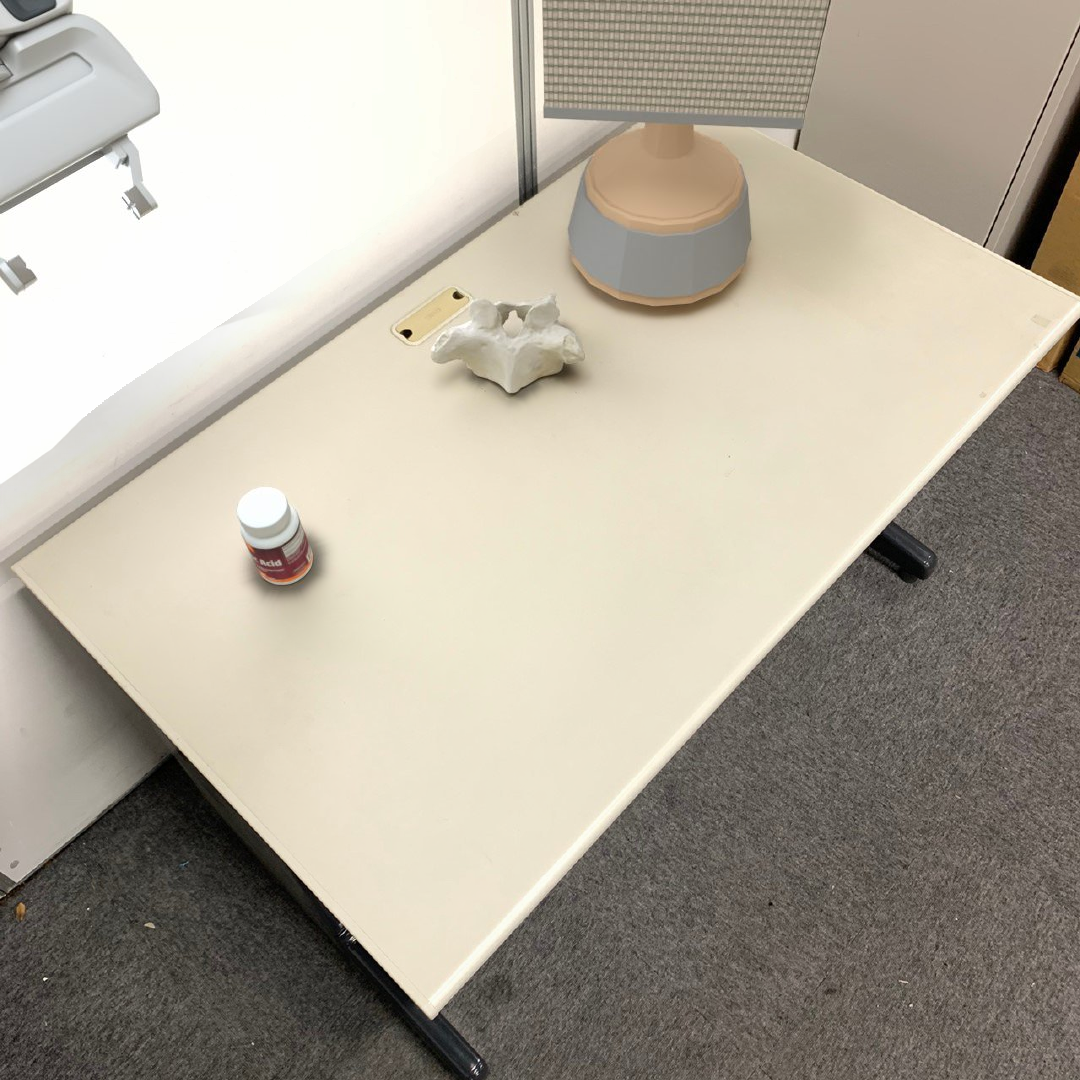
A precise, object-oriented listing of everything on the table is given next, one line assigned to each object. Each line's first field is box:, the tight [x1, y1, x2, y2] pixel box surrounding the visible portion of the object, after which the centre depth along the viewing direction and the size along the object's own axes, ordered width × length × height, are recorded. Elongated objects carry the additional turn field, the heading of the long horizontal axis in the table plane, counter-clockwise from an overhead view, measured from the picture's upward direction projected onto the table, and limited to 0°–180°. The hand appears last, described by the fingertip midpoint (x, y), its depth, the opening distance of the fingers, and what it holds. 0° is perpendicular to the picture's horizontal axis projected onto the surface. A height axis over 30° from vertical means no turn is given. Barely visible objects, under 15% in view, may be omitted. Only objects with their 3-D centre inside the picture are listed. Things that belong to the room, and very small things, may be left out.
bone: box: [430, 292, 586, 394], centre depth 94 cm, size 9×14×8 cm, turn 104°
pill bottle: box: [236, 486, 314, 586], centre depth 82 cm, size 5×5×8 cm
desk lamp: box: [541, 0, 830, 307], centre depth 91 cm, size 22×19×37 cm
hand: (89, 250), depth 66 cm, fingers open, 8 cm apart
